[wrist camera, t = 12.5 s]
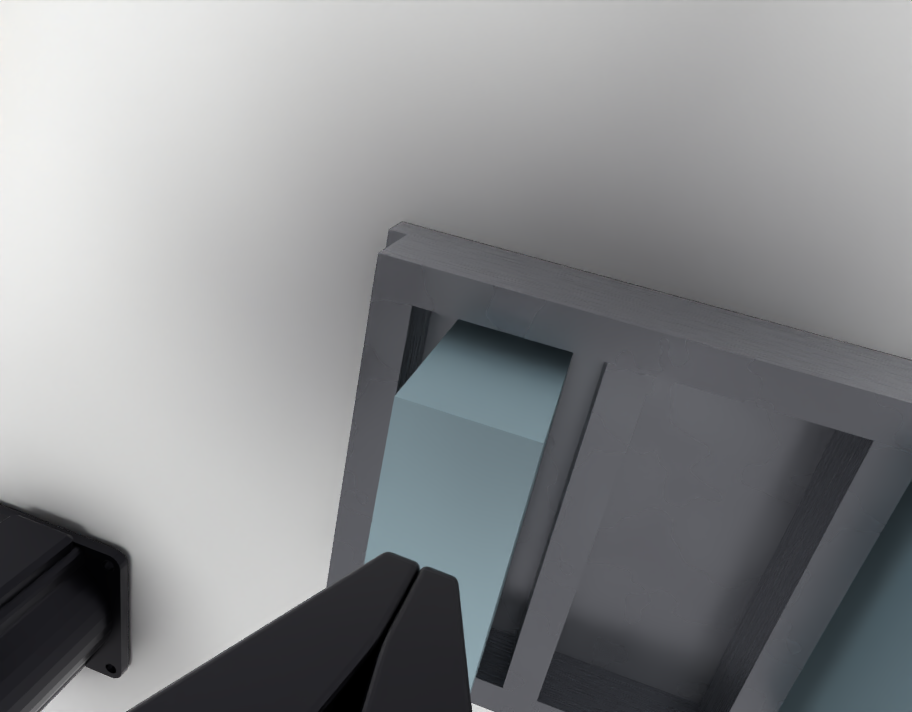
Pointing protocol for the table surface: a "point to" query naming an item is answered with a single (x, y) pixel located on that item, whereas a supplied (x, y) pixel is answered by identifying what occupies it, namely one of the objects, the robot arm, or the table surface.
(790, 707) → the panel
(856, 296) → the table surface
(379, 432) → the rack
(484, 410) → the fitted panel
